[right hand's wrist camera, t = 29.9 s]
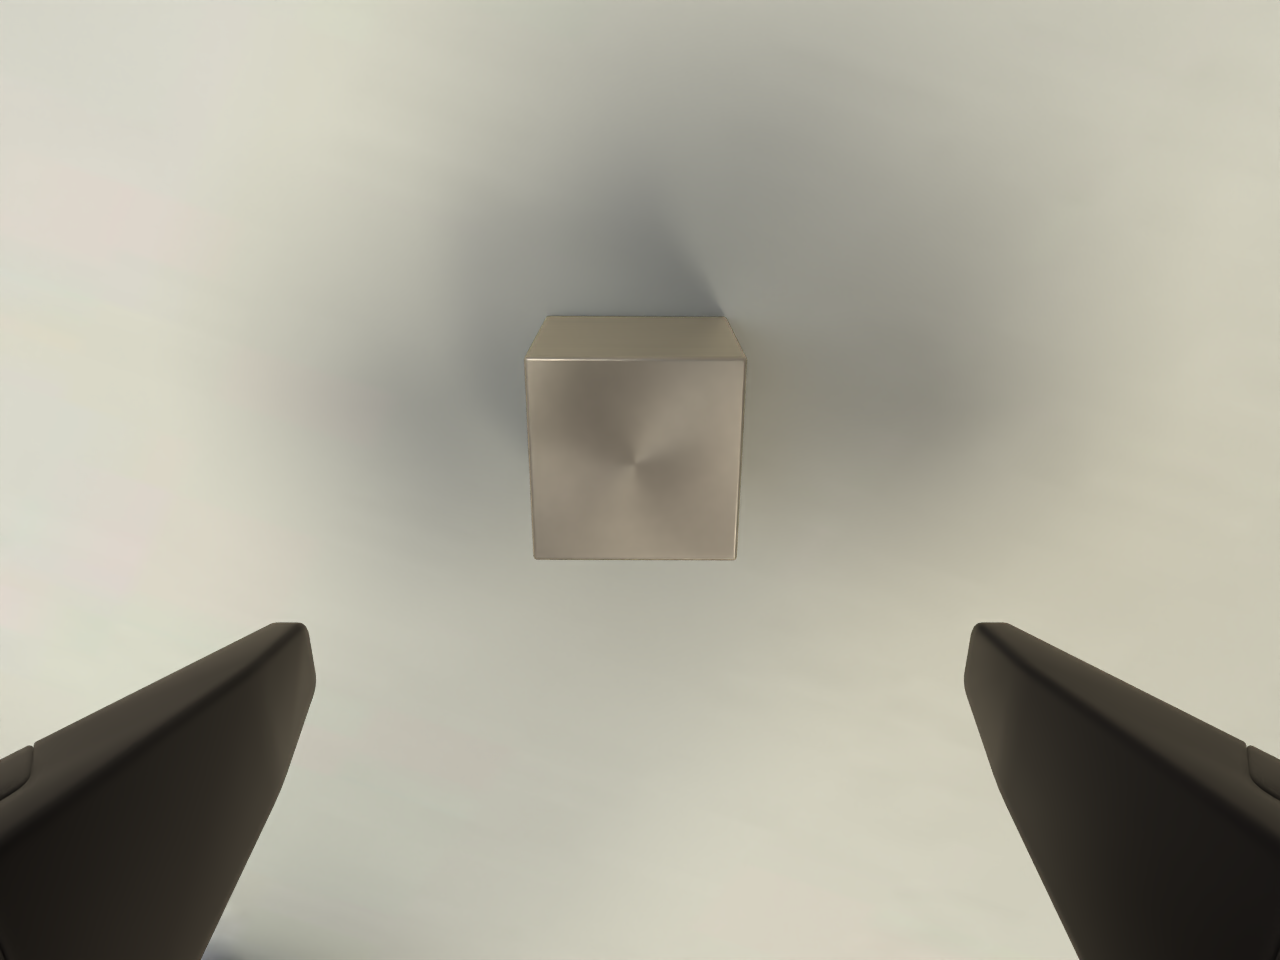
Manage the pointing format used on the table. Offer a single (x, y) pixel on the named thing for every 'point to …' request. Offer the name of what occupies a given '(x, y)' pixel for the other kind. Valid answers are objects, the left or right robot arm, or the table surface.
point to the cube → (635, 437)
